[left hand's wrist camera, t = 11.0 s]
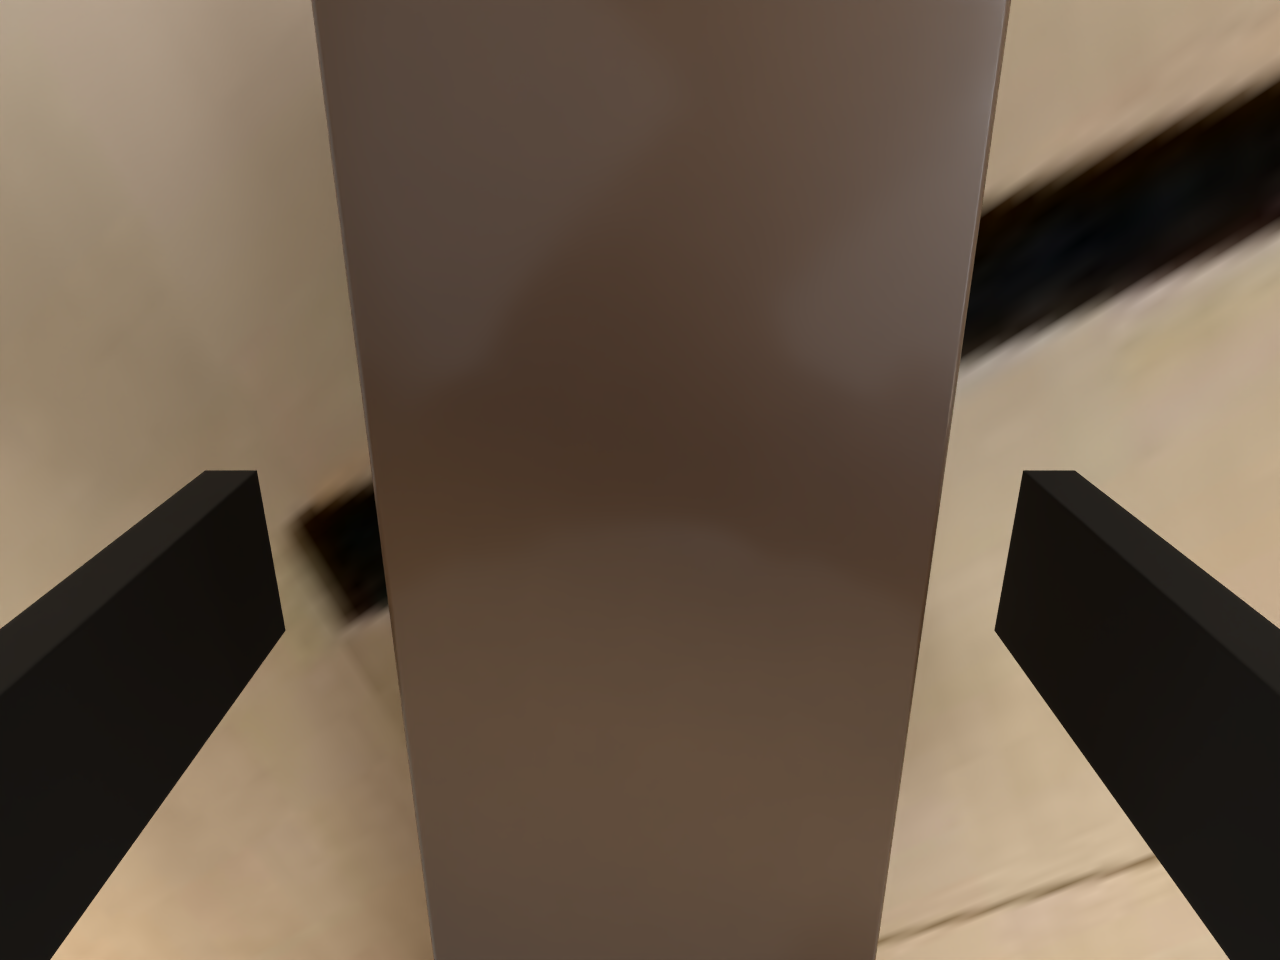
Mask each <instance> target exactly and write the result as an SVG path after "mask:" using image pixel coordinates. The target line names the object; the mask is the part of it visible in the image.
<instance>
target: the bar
mask: <svg viewBox="0 0 1280 960" xmlns="http://www.w3.org/2000/svg"><path fill="white" fill-rule="evenodd" d="M311 1H312V9H313V17H314V25H315V33H316V41H317V48H318V56H319V64H320V72H321V80H322V88H323V95H324V103H325V111H326V119H327V127H328V134H329V142H330V150H331V158H332V166H333V174H334V181H335V189H336V197H337V205H338V213H339V221H340V228H341V236H342V244H343V252H344V260H345V267H346V275H347V283H348V291H349V299H350V307H351V314H352V322H353V330H354V338H355V346H356V354H357V361H358V369H359V377H360V385H361V393H362V400H363V408H364V416H365V424H366V432H367V440H368V447H369V455H370V463H371V471H372V479H373V487H374V494H375V502H376V510H377V518H378V526H379V533H380V541H381V549H382V557H383V565H384V573H385V580H386V588H387V596H388V604H389V612H390V620H391V627H392V635H393V643H394V651H395V659H396V666H397V674H398V682H399V690H400V698H401V706H402V713H403V721H404V729H405V737H406V745H407V753H408V760H409V768H410V776H411V784H412V792H413V799H414V807H415V815H416V823H417V831H418V839H419V846H420V854H421V862H422V870H423V878H424V886H425V893H426V901H427V909H428V917H429V925H430V932H431V940H432V948H433V956H434V960H875V959H876V952H877V945H878V938H879V931H880V924H881V917H882V910H883V903H884V896H885V888H886V881H887V874H888V867H889V860H890V853H891V846H892V839H893V832H894V825H895V818H896V811H897V804H898V796H899V789H900V782H901V775H902V768H903V761H904V754H905V747H906V740H907V733H908V726H909V719H910V712H911V704H912V697H913V690H914V683H915V676H916V669H917V662H918V655H919V648H920V641H921V634H922V627H923V620H924V613H925V605H926V598H927V591H928V584H929V577H930V570H931V563H932V556H933V549H934V542H935V535H936V528H937V521H938V513H939V506H940V499H941V492H942V485H943V478H944V471H945V464H946V457H947V450H948V443H949V436H950V429H951V421H952V414H953V407H954V400H955V393H956V386H957V379H958V372H959V365H960V358H961V351H962V344H963V337H964V330H965V322H966V315H967V308H968V301H969V294H970V287H971V280H972V273H973V266H974V259H975V252H976V245H977V238H978V230H979V223H980V216H981V209H982V202H983V195H984V188H985V181H986V174H987V167H988V160H989V153H990V146H991V139H992V131H993V124H994V117H995V110H996V103H997V96H998V89H999V82H1000V75H1001V68H1002V61H1003V54H1004V47H1005V39H1006V32H1007V25H1008V18H1009V11H1010V4H1011V0H311Z"/></svg>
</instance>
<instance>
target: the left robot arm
mask: <svg viewBox="0 0 1280 960" xmlns="http://www.w3.org/2000/svg"><path fill="white" fill-rule="evenodd" d="M284 632H285V625H284V620H283V614H282V608H281V603H280V597H279V592H278V586H277V581H276V575H275V569H274V564H273V558H272V553H271V547H270V542H269V536H268V530H267V525H266V519H265V514H264V508H263V503H262V497H261V491H260V486H259V480H258V475H257V471H204V472H203V473H201V474H200V475H199V476H198V477H196V478H195V479H194V480H192V481H191V482H190V483H189V484H187V485H186V486H185V487H183V488H182V489H181V490H179V491H178V492H177V493H176V494H174V495H173V496H172V497H170V498H169V499H168V500H167V501H165V502H164V503H163V504H161V505H160V506H159V507H157V508H156V509H155V510H154V511H152V512H151V513H150V514H148V515H147V516H146V517H145V518H143V519H142V520H141V521H139V522H138V523H137V524H136V525H134V526H133V527H132V528H130V529H129V530H128V531H126V532H125V533H124V534H123V535H121V536H120V537H119V538H117V539H116V540H115V541H114V542H112V543H111V544H110V545H108V546H107V547H106V548H104V549H103V550H102V551H101V552H99V553H98V554H97V555H95V556H94V557H93V558H92V559H90V560H89V561H88V562H86V563H85V564H84V565H83V566H81V567H80V568H79V569H77V570H76V571H75V572H73V573H72V574H71V575H70V576H68V577H67V578H66V579H64V580H63V581H62V582H61V583H59V584H58V585H57V586H55V587H54V588H53V589H51V590H50V591H49V592H48V593H46V594H45V595H44V596H42V597H41V598H40V599H39V600H37V601H36V602H35V603H33V604H32V605H31V606H30V607H28V608H27V609H26V610H24V611H23V612H22V613H20V614H19V615H18V616H17V617H15V618H14V619H13V620H11V621H10V622H9V623H8V624H6V625H5V626H4V627H2V628H1V629H0V960H50V959H51V958H52V956H53V955H54V954H55V952H56V951H57V949H58V948H59V947H60V945H61V944H62V942H63V941H64V940H65V938H66V937H67V935H68V934H69V933H70V931H71V930H72V928H73V927H74V926H75V924H76V923H77V921H78V920H79V919H80V917H81V916H82V914H83V913H84V912H85V910H86V909H87V907H88V906H89V905H90V903H91V902H92V900H93V899H94V898H95V896H96V895H97V893H98V892H99V891H100V889H101V888H102V886H103V885H104V884H105V882H106V881H107V879H108V878H109V877H110V875H111V874H112V872H113V871H114V870H115V868H116V867H117V865H118V864H119V863H120V861H121V860H122V858H123V857H124V856H125V854H126V853H127V851H128V850H129V849H130V847H131V846H132V844H133V843H134V842H135V840H136V839H137V837H138V836H139V835H140V833H141V832H142V830H143V829H144V828H145V826H146V825H147V823H148V822H149V821H150V819H151V818H152V816H153V815H154V814H155V812H156V811H157V809H158V808H159V807H160V805H161V804H162V802H163V801H164V800H165V798H166V797H167V795H168V794H169V793H170V791H171V790H172V788H173V787H174V786H175V784H176V783H177V781H178V780H179V779H180V777H181V776H182V775H183V773H184V772H185V770H186V769H187V768H188V766H189V765H190V763H191V762H192V761H193V759H194V758H195V756H196V755H197V754H198V752H199V751H200V749H201V748H202V747H203V745H204V744H205V742H206V741H207V740H208V738H209V737H210V735H211V734H212V733H213V731H214V730H215V728H216V727H217V726H218V724H219V723H220V721H221V720H222V719H223V717H224V716H225V714H226V713H227V712H228V710H229V709H230V707H231V706H232V705H233V703H234V702H235V700H236V699H237V698H238V696H239V695H240V693H241V692H242V691H243V689H244V688H245V686H246V685H247V684H248V682H249V681H250V679H251V678H252V677H253V675H254V674H255V672H256V671H257V670H258V668H259V667H260V665H261V664H262V663H263V661H264V660H265V658H266V657H267V656H268V654H269V653H270V651H271V650H272V649H273V647H274V646H275V644H276V643H277V642H278V640H279V639H280V637H281V636H282V635H283V633H284ZM995 632H996V633H997V635H998V636H999V637H1000V639H1001V640H1002V642H1003V643H1004V644H1005V646H1006V647H1007V649H1008V650H1009V651H1010V653H1011V654H1012V656H1013V657H1014V658H1015V660H1016V661H1017V663H1018V664H1019V665H1020V667H1021V668H1022V670H1023V671H1024V672H1025V674H1026V675H1027V677H1028V678H1029V679H1030V681H1031V682H1032V684H1033V685H1034V686H1035V688H1036V689H1037V691H1038V692H1039V693H1040V695H1041V696H1042V698H1043V699H1044V700H1045V702H1046V703H1047V705H1048V706H1049V707H1050V709H1051V710H1052V712H1053V713H1054V714H1055V716H1056V717H1057V719H1058V720H1059V721H1060V723H1061V724H1062V726H1063V727H1064V728H1065V730H1066V731H1067V733H1068V734H1069V735H1070V737H1071V738H1072V740H1073V741H1074V742H1075V744H1076V745H1077V747H1078V748H1079V749H1080V751H1081V752H1082V754H1083V755H1084V756H1085V758H1086V759H1087V761H1088V762H1089V763H1090V765H1091V766H1092V768H1093V769H1094V770H1095V772H1096V773H1097V775H1098V776H1099V777H1100V779H1101V780H1102V782H1103V783H1104V784H1105V786H1106V787H1107V789H1108V790H1109V791H1110V793H1111V794H1112V796H1113V797H1114V798H1115V800H1116V801H1117V803H1118V804H1119V805H1120V807H1121V808H1122V810H1123V811H1124V812H1125V814H1126V815H1127V817H1128V818H1129V819H1130V821H1131V822H1132V824H1133V825H1134V826H1135V828H1136V829H1137V831H1138V832H1139V833H1140V835H1141V836H1142V838H1143V839H1144V840H1145V842H1146V843H1147V845H1148V846H1149V847H1150V849H1151V850H1152V852H1153V853H1154V854H1155V856H1156V857H1157V858H1158V860H1159V861H1160V863H1161V864H1162V865H1163V867H1164V868H1165V870H1166V871H1167V872H1168V874H1169V875H1170V877H1171V878H1172V879H1173V881H1174V882H1175V884H1176V885H1177V886H1178V888H1179V889H1180V891H1181V892H1182V893H1183V895H1184V896H1185V898H1186V899H1187V900H1188V902H1189V903H1190V905H1191V906H1192V907H1193V909H1194V910H1195V912H1196V913H1197V914H1198V916H1199V917H1200V919H1201V920H1202V921H1203V923H1204V924H1205V926H1206V927H1207V928H1208V930H1209V931H1210V933H1211V934H1212V935H1213V937H1214V938H1215V940H1216V941H1217V942H1218V944H1219V945H1220V947H1221V948H1222V949H1223V951H1224V952H1225V954H1226V955H1227V956H1228V958H1229V959H1230V960H1280V629H1279V628H1278V627H1276V626H1275V625H1274V624H1272V623H1271V622H1270V621H1269V620H1267V619H1266V618H1265V617H1263V616H1262V615H1261V614H1260V613H1258V612H1257V611H1256V610H1254V609H1253V608H1252V607H1250V606H1249V605H1248V604H1247V603H1245V602H1244V601H1243V600H1241V599H1240V598H1239V597H1238V596H1236V595H1235V594H1234V593H1232V592H1231V591H1230V590H1228V589H1227V588H1226V587H1225V586H1223V585H1222V584H1221V583H1219V582H1218V581H1217V580H1216V579H1214V578H1213V577H1212V576H1210V575H1209V574H1208V573H1207V572H1205V571H1204V570H1203V569H1201V568H1200V567H1199V566H1197V565H1196V564H1195V563H1194V562H1192V561H1191V560H1190V559H1188V558H1187V557H1186V556H1185V555H1183V554H1182V553H1181V552H1179V551H1178V550H1177V549H1175V548H1174V547H1173V546H1172V545H1170V544H1169V543H1168V542H1166V541H1165V540H1164V539H1163V538H1161V537H1160V536H1159V535H1157V534H1156V533H1155V532H1154V531H1152V530H1151V529H1150V528H1148V527H1147V526H1146V525H1144V524H1143V523H1142V522H1141V521H1139V520H1138V519H1137V518H1135V517H1134V516H1133V515H1132V514H1130V513H1129V512H1128V511H1126V510H1125V509H1124V508H1123V507H1121V506H1120V505H1119V504H1117V503H1116V502H1115V501H1113V500H1112V499H1111V498H1110V497H1108V496H1107V495H1106V494H1104V493H1103V492H1102V491H1101V490H1099V489H1098V488H1097V487H1095V486H1094V485H1093V484H1091V483H1090V482H1089V481H1088V480H1086V479H1085V478H1084V477H1082V476H1081V475H1080V474H1079V473H1077V472H1076V471H1023V475H1022V480H1021V486H1020V491H1019V497H1018V502H1017V508H1016V514H1015V519H1014V525H1013V530H1012V536H1011V541H1010V547H1009V553H1008V558H1007V564H1006V569H1005V575H1004V580H1003V586H1002V592H1001V597H1000V603H999V608H998V614H997V619H996V625H995Z"/></svg>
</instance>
